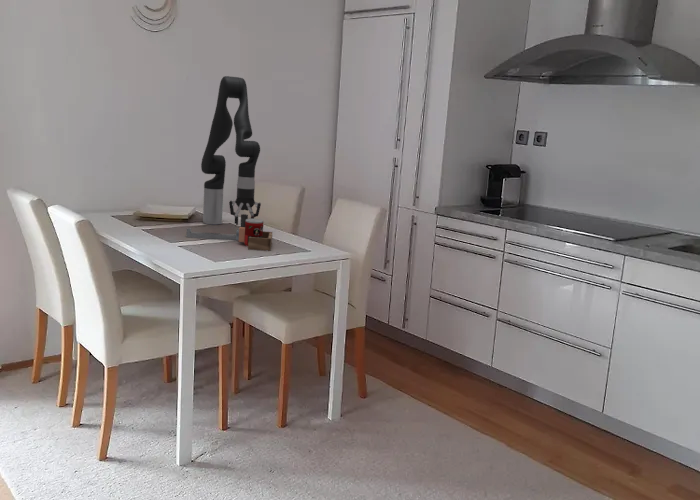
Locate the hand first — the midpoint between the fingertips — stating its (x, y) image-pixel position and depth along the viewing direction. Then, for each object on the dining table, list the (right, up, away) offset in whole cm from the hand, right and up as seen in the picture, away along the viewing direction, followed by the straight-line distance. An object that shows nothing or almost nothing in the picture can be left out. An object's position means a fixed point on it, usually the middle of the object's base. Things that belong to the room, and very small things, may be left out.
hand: (244, 225), depth 292 cm
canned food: (+5, -9, -7) cm, 13 cm away
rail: (-10, -6, +1) cm, 12 cm away
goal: (+8, -9, -8) cm, 15 cm away
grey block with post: (0, -7, -2) cm, 7 cm away
